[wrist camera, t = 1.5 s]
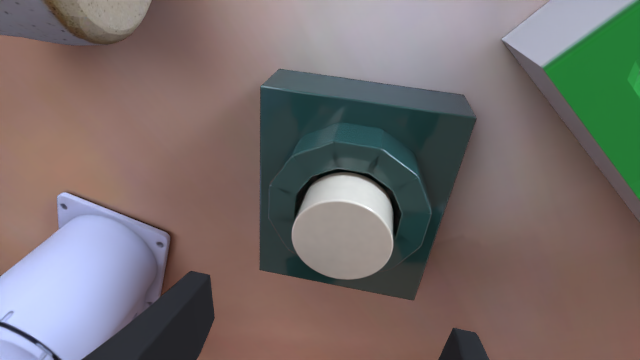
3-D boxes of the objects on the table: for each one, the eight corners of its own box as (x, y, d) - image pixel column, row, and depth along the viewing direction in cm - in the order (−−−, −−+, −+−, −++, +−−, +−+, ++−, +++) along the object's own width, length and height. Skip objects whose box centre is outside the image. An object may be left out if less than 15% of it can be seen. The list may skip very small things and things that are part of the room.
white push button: (384, 253, 17) (382, 288, 15) (299, 237, 17) (288, 270, 15) (402, 180, 15) (403, 211, 13) (305, 164, 15) (293, 192, 13)
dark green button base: (411, 263, 23) (416, 332, 18) (273, 237, 24) (247, 297, 19) (464, 94, 17) (488, 138, 13) (278, 68, 18) (243, 101, 14)
